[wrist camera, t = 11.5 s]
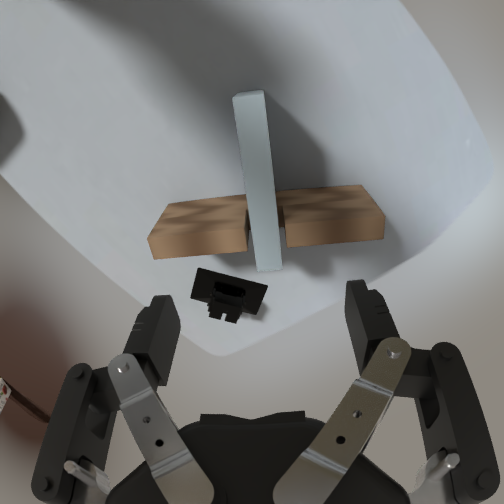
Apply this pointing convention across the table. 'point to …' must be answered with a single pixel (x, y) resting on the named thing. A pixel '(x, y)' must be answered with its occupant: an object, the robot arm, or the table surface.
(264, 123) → the blue grey block
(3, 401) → the juice carton
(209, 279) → the black plastic bracket
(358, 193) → the brown wooden board
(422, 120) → the table surface
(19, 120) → the table surface
